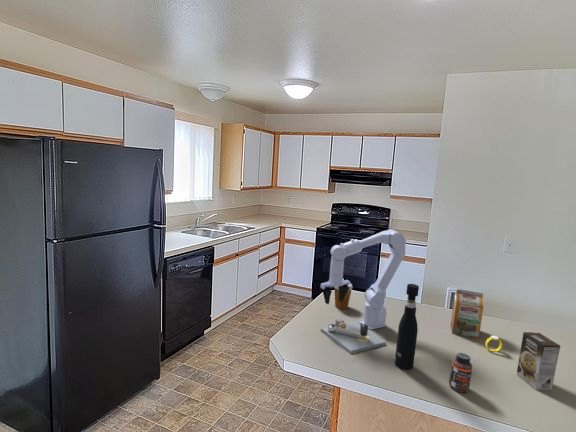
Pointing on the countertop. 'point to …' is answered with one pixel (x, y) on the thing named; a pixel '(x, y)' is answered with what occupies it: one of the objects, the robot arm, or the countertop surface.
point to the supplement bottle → (460, 373)
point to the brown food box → (538, 360)
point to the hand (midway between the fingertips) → (333, 302)
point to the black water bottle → (407, 332)
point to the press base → (353, 338)
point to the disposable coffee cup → (346, 299)
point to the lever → (350, 331)
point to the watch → (493, 339)
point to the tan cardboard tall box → (467, 313)
